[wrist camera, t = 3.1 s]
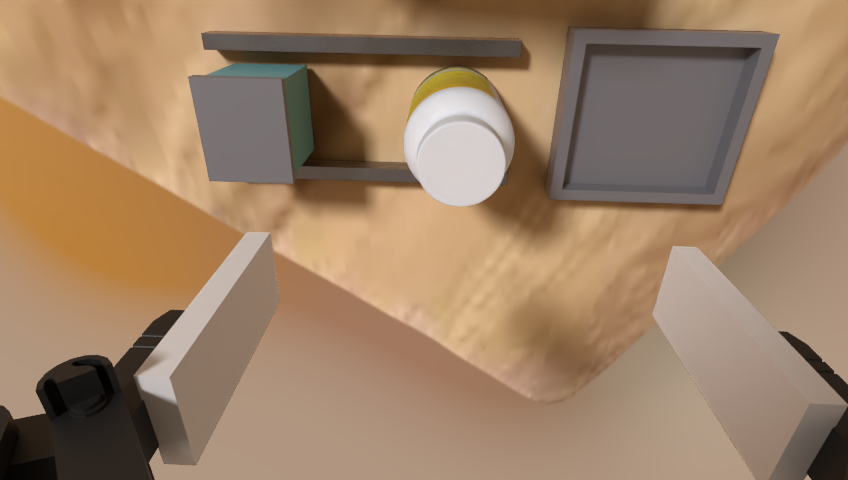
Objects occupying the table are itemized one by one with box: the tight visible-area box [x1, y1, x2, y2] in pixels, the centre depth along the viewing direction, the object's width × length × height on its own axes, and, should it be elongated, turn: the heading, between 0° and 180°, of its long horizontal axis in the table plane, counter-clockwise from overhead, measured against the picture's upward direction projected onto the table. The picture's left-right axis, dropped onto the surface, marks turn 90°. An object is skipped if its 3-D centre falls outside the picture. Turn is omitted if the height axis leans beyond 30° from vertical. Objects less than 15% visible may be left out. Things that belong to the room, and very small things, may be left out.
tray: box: [545, 27, 780, 205], centre depth 34 cm, size 12×13×2 cm
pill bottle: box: [403, 66, 515, 207], centre depth 30 cm, size 6×6×12 cm
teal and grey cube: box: [188, 63, 314, 184], centre depth 32 cm, size 6×5×6 cm
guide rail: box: [201, 31, 522, 185], centre depth 35 cm, size 10×21×2 cm, turn 89°
